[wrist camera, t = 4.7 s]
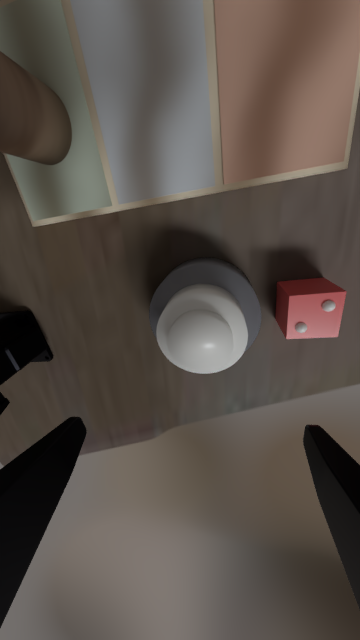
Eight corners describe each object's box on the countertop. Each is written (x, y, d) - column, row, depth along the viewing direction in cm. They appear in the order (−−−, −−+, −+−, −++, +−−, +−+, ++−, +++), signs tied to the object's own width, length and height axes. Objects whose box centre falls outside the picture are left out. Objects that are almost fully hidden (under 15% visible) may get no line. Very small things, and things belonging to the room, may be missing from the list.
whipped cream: (170, 356, 19) (162, 382, 16) (157, 287, 16) (143, 304, 13) (244, 353, 18) (250, 382, 15) (243, 279, 15) (249, 295, 12)
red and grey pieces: (167, 348, 23) (157, 372, 19) (149, 264, 19) (134, 275, 16) (314, 343, 20) (334, 370, 16) (328, 241, 16) (358, 249, 13)
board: (38, 226, 19) (32, 226, 18) (-41, 28, 14) (-53, 20, 13) (342, 169, 14) (348, 167, 14) (391, -167, 9) (404, -195, 8)
